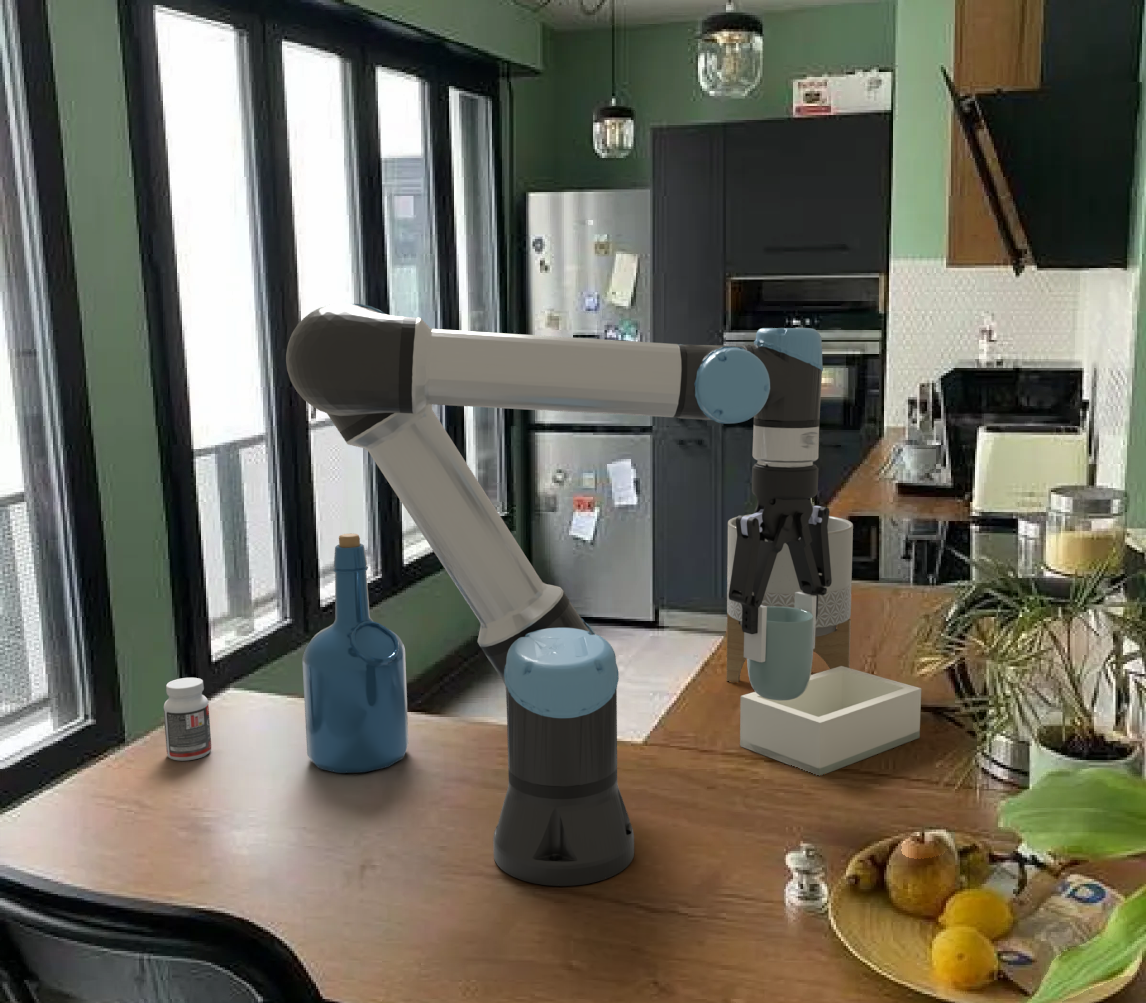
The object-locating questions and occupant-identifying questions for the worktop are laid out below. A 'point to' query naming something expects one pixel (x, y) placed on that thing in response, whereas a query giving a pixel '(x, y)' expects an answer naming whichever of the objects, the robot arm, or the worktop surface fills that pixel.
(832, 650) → the planter
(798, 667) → the cup
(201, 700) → the pill bottle
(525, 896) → the worktop surface
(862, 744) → the open box
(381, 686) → the wine bottle
